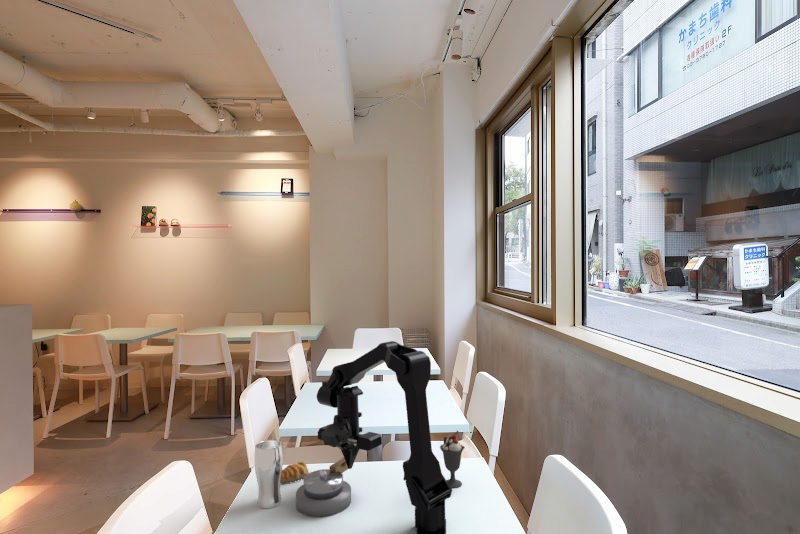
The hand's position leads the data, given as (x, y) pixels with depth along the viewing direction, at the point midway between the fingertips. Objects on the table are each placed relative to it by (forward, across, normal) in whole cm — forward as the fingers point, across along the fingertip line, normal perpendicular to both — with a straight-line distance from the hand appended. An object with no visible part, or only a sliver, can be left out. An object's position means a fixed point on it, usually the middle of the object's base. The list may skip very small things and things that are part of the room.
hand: (350, 468), depth 127 cm
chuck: (+2, -2, -6) cm, 6 cm away
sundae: (+6, +22, +18) cm, 29 cm away
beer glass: (+6, -13, -17) cm, 22 cm away
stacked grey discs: (+6, -1, -9) cm, 11 cm away
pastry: (+6, -19, -4) cm, 20 cm away
